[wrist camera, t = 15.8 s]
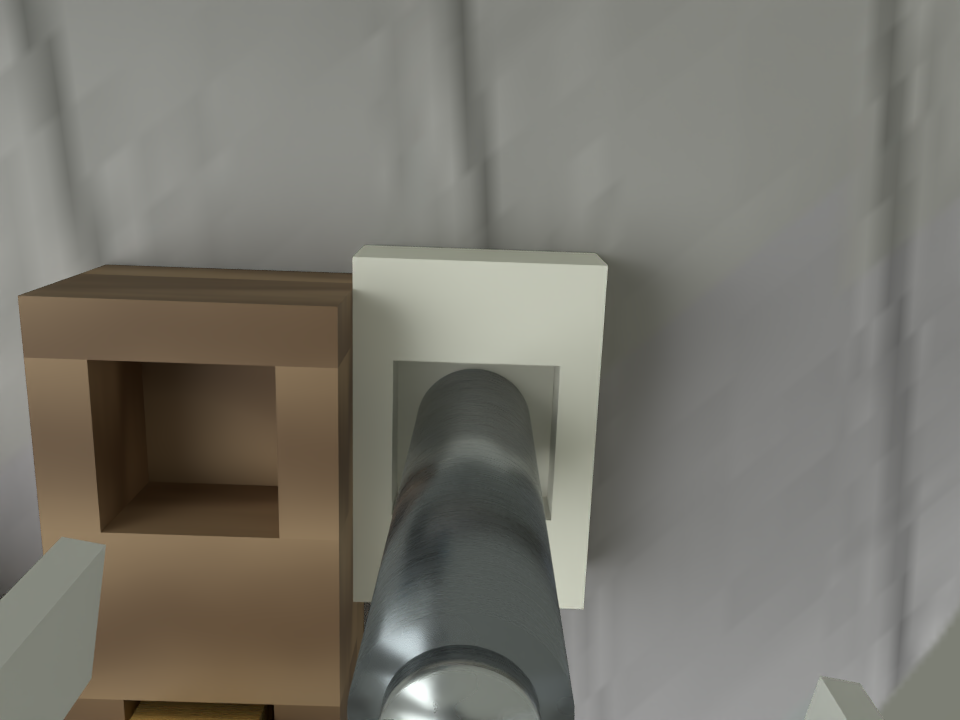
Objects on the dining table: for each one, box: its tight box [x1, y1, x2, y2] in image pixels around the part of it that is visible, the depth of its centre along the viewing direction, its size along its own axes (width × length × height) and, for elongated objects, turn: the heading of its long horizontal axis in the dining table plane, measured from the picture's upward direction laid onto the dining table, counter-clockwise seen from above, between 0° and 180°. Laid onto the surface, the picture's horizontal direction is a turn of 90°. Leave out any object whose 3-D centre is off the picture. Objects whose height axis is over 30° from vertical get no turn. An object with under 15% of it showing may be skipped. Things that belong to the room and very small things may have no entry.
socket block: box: [18, 265, 364, 720], centre depth 30 cm, size 18×9×6 cm, turn 178°
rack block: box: [353, 245, 608, 609], centre depth 30 cm, size 12×8×3 cm, turn 178°
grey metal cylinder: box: [347, 369, 574, 720], centre depth 23 cm, size 4×4×17 cm
